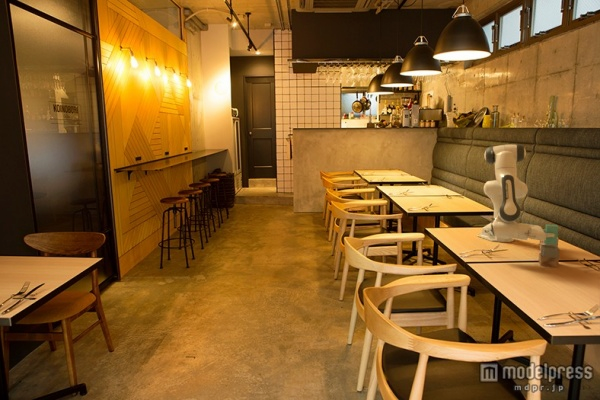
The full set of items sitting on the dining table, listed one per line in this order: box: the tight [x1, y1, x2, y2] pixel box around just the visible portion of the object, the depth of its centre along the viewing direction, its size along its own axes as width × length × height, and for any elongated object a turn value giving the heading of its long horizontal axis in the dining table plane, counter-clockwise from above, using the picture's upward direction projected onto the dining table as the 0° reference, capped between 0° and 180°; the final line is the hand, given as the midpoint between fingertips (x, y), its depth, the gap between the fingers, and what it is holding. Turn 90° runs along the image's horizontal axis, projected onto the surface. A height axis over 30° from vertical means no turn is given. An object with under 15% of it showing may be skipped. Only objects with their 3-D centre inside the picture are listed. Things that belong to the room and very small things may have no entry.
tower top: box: [540, 245, 560, 258], centre depth 224 cm, size 7×7×5 cm
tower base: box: [538, 252, 560, 268], centre depth 225 cm, size 8×8×5 cm
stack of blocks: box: [538, 236, 560, 252], centre depth 244 cm, size 21×6×12 cm, turn 157°
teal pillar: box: [544, 223, 559, 245], centre depth 223 cm, size 5×5×10 cm
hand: (553, 233), depth 223 cm, fingers closed on teal pillar, 5 cm apart
